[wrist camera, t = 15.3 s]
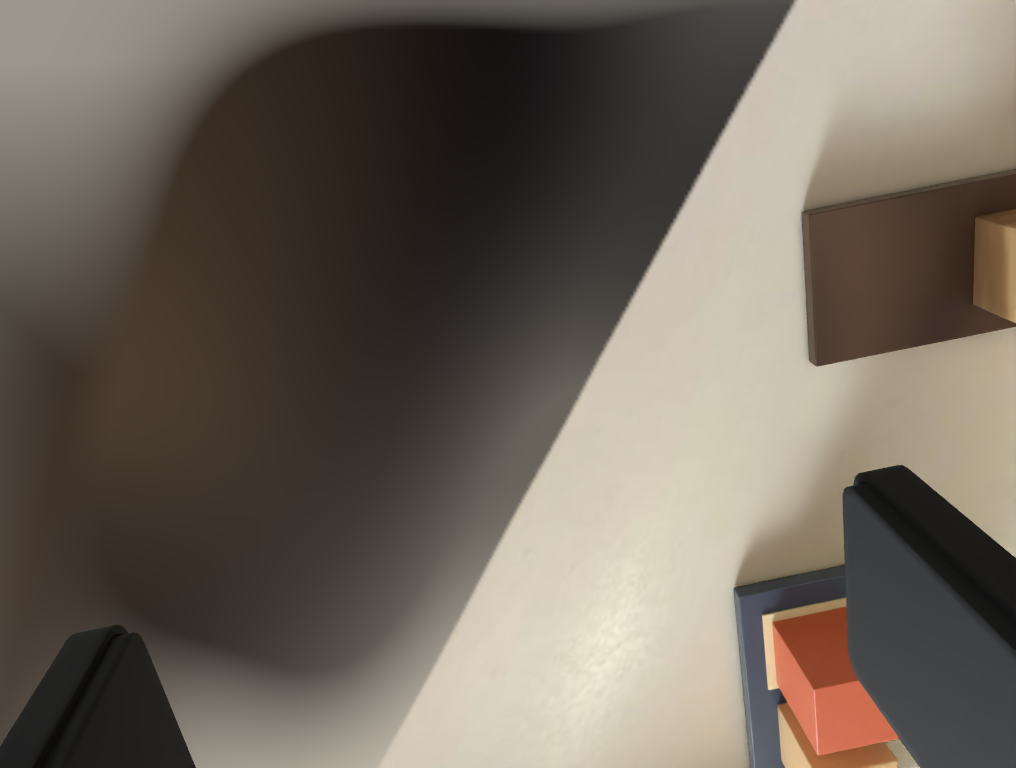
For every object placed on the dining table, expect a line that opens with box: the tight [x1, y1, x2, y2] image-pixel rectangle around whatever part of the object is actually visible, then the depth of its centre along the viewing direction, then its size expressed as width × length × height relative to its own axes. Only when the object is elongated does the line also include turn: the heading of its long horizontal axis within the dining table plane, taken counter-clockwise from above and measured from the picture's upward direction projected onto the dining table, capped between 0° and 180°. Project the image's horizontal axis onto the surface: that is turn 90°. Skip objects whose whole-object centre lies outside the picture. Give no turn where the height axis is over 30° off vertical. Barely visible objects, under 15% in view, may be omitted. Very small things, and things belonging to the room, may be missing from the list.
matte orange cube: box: [772, 607, 899, 755], centre depth 41 cm, size 4×4×5 cm
